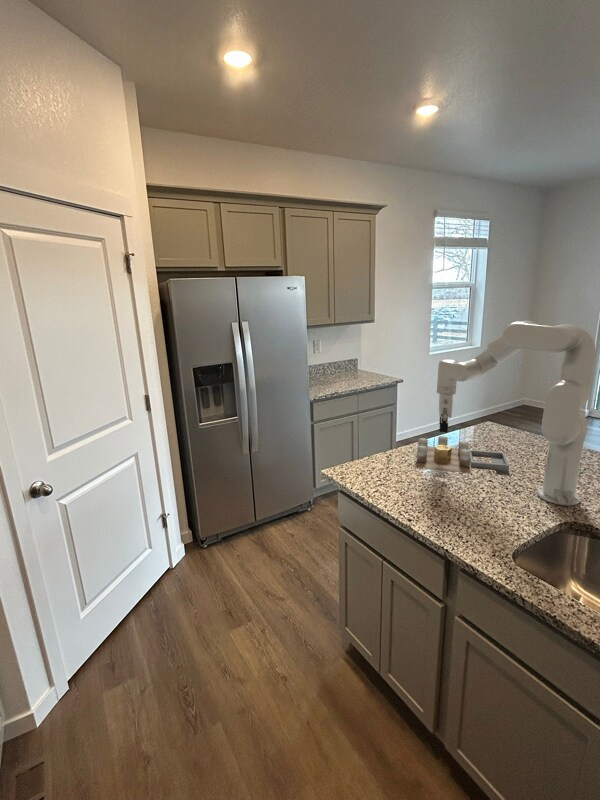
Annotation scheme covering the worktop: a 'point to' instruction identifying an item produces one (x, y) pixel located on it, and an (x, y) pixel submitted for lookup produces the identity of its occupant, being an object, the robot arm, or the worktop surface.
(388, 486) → the worktop surface
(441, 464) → the board
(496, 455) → the tray
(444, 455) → the faceted yellow gem
